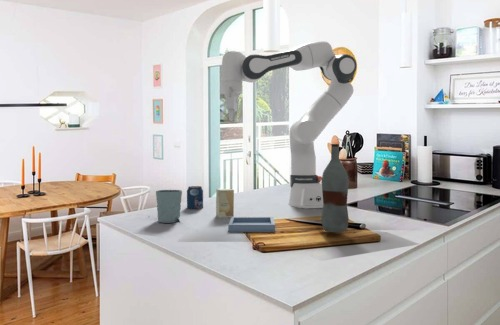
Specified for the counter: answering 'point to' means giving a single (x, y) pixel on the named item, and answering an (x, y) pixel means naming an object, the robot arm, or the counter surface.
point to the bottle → (335, 194)
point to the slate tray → (251, 224)
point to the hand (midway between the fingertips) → (231, 121)
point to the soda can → (194, 198)
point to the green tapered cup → (168, 205)
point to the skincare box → (224, 203)
